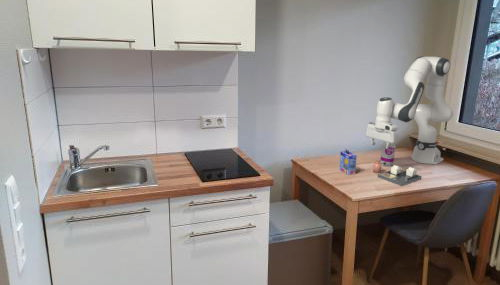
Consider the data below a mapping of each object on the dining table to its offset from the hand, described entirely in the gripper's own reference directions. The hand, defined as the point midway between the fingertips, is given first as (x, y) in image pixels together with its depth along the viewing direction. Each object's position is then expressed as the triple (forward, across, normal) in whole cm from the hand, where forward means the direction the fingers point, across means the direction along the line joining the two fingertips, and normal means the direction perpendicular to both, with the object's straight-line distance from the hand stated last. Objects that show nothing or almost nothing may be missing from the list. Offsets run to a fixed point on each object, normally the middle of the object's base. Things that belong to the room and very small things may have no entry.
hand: (379, 146), depth 223 cm
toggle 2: (+14, +18, +8) cm, 24 cm away
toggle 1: (+14, +11, +3) cm, 18 cm away
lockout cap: (+16, 0, 0) cm, 17 cm away
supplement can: (+16, -6, +18) cm, 25 cm away
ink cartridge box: (+17, -10, -16) cm, 25 cm away
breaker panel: (+16, +14, +3) cm, 22 cm away
